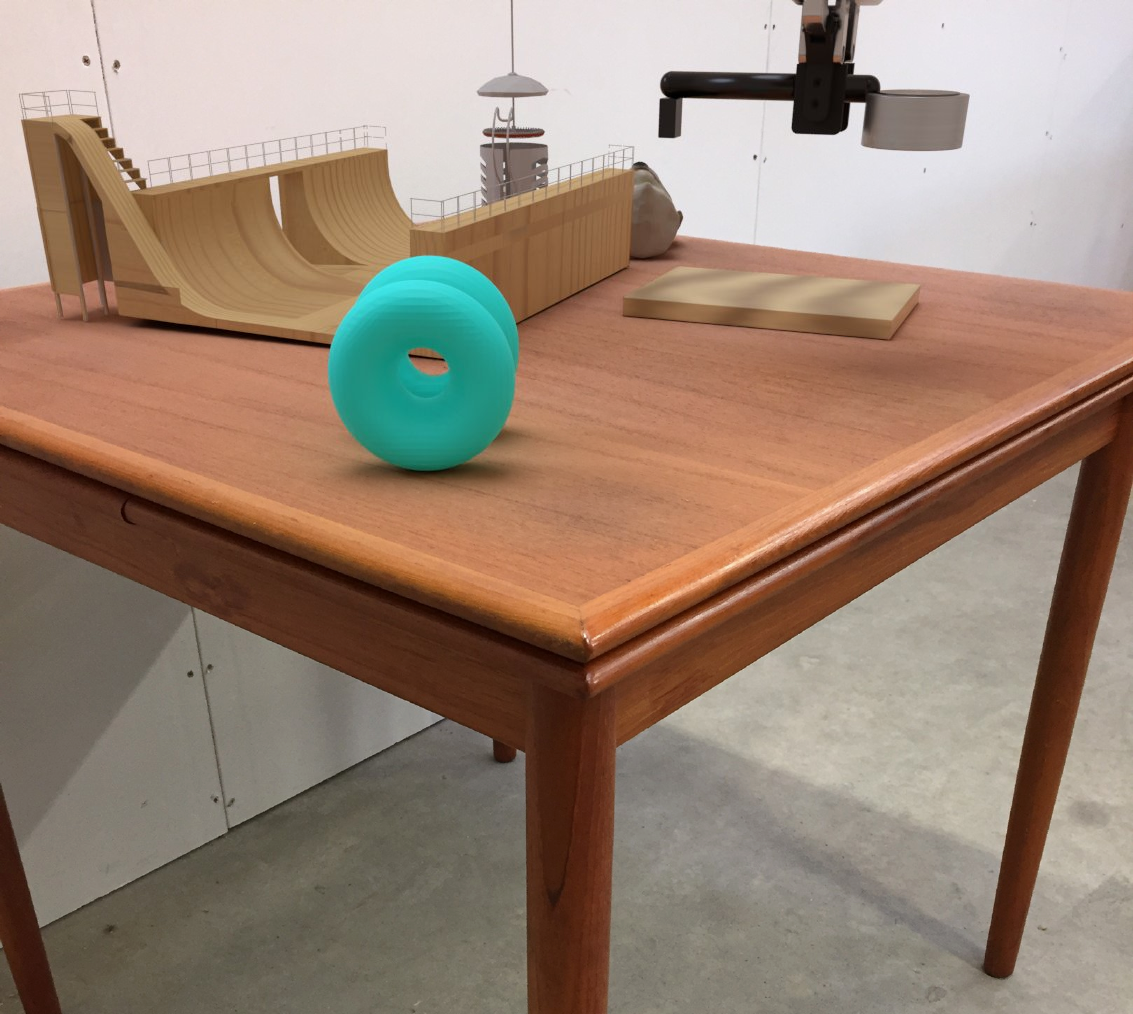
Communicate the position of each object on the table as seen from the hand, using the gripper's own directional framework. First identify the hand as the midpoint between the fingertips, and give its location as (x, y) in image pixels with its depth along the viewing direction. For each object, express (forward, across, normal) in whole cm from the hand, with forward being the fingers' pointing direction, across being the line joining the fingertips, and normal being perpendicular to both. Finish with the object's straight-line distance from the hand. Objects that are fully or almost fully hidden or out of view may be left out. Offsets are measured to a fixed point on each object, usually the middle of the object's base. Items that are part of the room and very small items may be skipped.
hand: (819, 130), depth 81 cm
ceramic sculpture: (+15, +40, +26) cm, 50 cm away
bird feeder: (+15, +51, +44) cm, 70 cm away
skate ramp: (+15, +11, +41) cm, 45 cm away
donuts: (+15, -28, +15) cm, 36 cm away
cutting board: (+15, +17, +6) cm, 23 cm away
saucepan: (+1, 0, +1) cm, 1 cm away
